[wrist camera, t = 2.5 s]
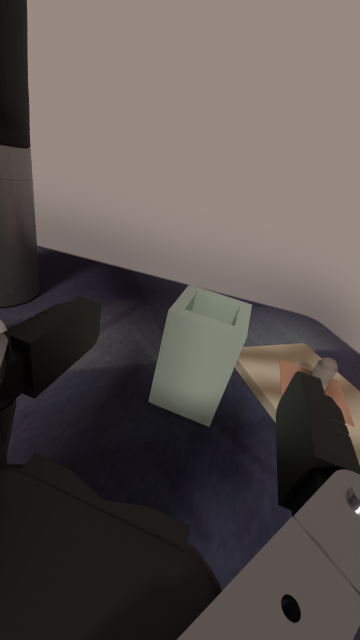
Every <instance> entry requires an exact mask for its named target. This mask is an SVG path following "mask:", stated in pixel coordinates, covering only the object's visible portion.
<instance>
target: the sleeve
mask: <svg viewBox="0 0 360 640" xmlns="http://www.w3.org/2000/svg"><path fill="white" fill-rule="evenodd" d="M251 307H252V305H251V304H248V303H245V302H242V301H239V300H236V299H233V298H229V297H226V296H223V295H220V294H217V293H214V292H211V291H208V290H205V289H202V288H199V287H196V286H193V285H189V286H188V287H187V288H186V289H185V291H184V292H183V293H182V294H181V296H180V297H179V298H178V299H177V300H176V302H175V303H174V304H173V305H172V307H171V308H170V309H169V310H168V315H167V319H166V324H165V328H164V333H163V337H162V342H161V347H160V351H159V356H158V360H157V365H156V369H155V374H154V378H153V383H152V387H151V392H150V396H149V401H148V402H149V403H152V404H154V405H157V406H159V407H161V408H164V409H166V410H169V411H171V412H174V413H176V414H179V415H181V416H183V417H186V418H188V419H191V420H193V421H196V422H198V423H201V424H203V425H206V426H208V427H209V426H210V424H211V422H212V419H213V417H214V414H215V412H216V410H217V407H218V405H219V403H220V400H221V398H222V395H223V393H224V391H225V388H226V386H227V383H228V381H229V379H230V376H231V374H232V372H233V369H234V367H235V364H236V362H237V360H238V357H239V355H240V352H241V350H242V348H243V345H244V343H245V341H246V338H247V333H248V326H249V320H250V313H251Z"/></svg>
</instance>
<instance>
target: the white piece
mask: <svg viewBox="0 0 360 640" xmlns="http://www.w3.org/2000/svg"><path fill="white" fill-rule="evenodd" d="M6 330H7V328H6V326H5V325H4V323H3V322H2V321H1V320H0V333H3V332H5V331H6Z"/></svg>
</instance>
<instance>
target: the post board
mask: <svg viewBox="0 0 360 640" xmlns="http://www.w3.org/2000/svg"><path fill="white" fill-rule="evenodd" d="M337 368H338V366H337V363H336V361H335V360H333V359H331V358H323V359H322V358H320V357H319V356H318V355H317V354H316V353H315V352H313V351H312V350H311V349H310V348H309V347H308V346H307V345H305V344H304V343H301V344H286V345H270V346H255V347H243V348H242V350H241V352H240V355H239V357H238V360H237V362H236V364H235V369H236V370H237V371H238V373H239V374H240V375H241V377H242V378H243V379H244V381H245V382H246V384H247V385H248V386H249V388H250V389H251V390H252V392H253V393H254V394H255V396H256V397H257V398H258V400H259V401H260V402H261V404H262V405H263V407H264V408H265V409H266V411H267V412H268V413H269V415H270V416H271V417H272V419H273V420H274V421H275V423H276V410H277V406H278V403H279V401H280V399H281V397H282V395H283V394H284V392H285V390H286V388H287V387H288V385H289V383H290V381H291V379H292V378H293V376H294V374H295V373H296V372H297V371H301V372H303V373H306V374H309V375H312V376H315V377H318V378H320V379H321V381H322V385H323V389H324V392H325V395H327V396H330V397H332V398H333V400H334V401H335V402H336V404H337V405H338V406H339V408H340V409H341V410H342V413H343V416H344V419H345V422H346V423H345V425H347V428H348V431H349V436H350V438H351V441H352V444H353V447H354V450H355V453H356V456H357V459H358V462H359V465H360V391H358V390H357V389H356V388H355V387H354V386H353V385H351V384H350V383H349V382H348V381H347V380H346V379H345V378H343V377H342V376H341V375H340V374H339V373H338V370H337Z"/></svg>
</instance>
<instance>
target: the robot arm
mask: <svg viewBox="0 0 360 640" xmlns="http://www.w3.org/2000/svg"><path fill="white" fill-rule="evenodd" d="M29 130H30V125H29V93H28V61H27V0H0V307H6V306H13V305H18V304H22V303H25V302H27V301H30V300H31V299H33V298H35V297H36V296H37V295H38V293H39V274H38V256H37V240H36V225H35V210H34V194H33V179H32V165H31V149H30V148H29V147H30V131H29ZM100 316H101V303H100V302H99V301H97V300H94V299H91V298H88V297H86V296H79V297H77V298H75V299H74V300H72V301H70V302H68V303H67V302H66V303H62V304H57V305H53V306H51V307H49V308H48V309H46V310H44V311H43V312H40V313H38V314H36V315H34V317H31V318H29V319H27V320H25V321H23V322H21V323H20V324H18V325H16V326H14V327H12V328H10V329H8V330H6V331H5V332H3V333H0V640H353V638H354V636H355V634H356V632H357V629H358V627H359V625H360V465H359V462H358V459H357V456H356V453H355V450H354V447H353V444H352V441H351V438H350V436H349V431H348V428H347V425H345V423H346V422H345V419H344V416H343V413H342V410H341V409H340V408H339V406H338V405H337V404H336V402H335V401H334V400H333V398H332V397H330V396H327V395H325V392H324V389H323V385H322V381H321V379H320V378H318V377H315V376H312V375H309V374H306V373H303V372H301V371H297V372H296V373H295V374H294V376H293V378H292V379H291V381H290V383H289V385H288V387H287V388H286V390H285V392H284V394H283V395H282V397H281V399H280V401H279V403H278V406H277V410H276V445H277V477H278V505H280V506H282V507H284V508H287V509H289V510H291V511H292V517H291V518H290V519H289V520H288V521H287V523H286V524H285V525H284V526H283V527H282V528H281V529H280V530H279V531H278V532H277V533H276V534H275V535H274V536H273V538H272V539H271V540H270V541H269V542H268V543H267V544H266V545H265V546H264V547H263V548H262V549H261V550H260V551H259V552H258V554H257V555H256V556H255V557H254V558H253V559H252V560H251V561H250V562H249V563H248V564H247V565H246V566H245V567H244V568H243V570H242V571H241V572H240V573H239V574H238V575H237V576H236V577H235V578H234V579H233V580H232V581H231V582H230V583H229V585H228V586H227V587H226V588H225V589H224V590H223V591H222V589H221V587H220V584H219V582H218V580H217V578H216V577H215V575H214V573H213V571H212V570H211V568H210V566H209V565H208V564H207V562H206V561H205V559H204V558H203V557H202V555H201V554H200V553H199V552H198V551H197V550H196V549H195V547H194V546H192V545H191V544H190V543H189V542H188V541H187V538H188V534H189V530H190V525H188V524H185V523H183V522H181V521H179V520H177V519H175V518H173V517H170V516H168V515H166V514H164V513H162V512H160V511H158V510H156V509H153V508H151V507H149V506H142V505H136V504H129V503H122V502H116V501H109V500H104V499H102V498H101V497H99V496H98V495H97V494H96V493H95V492H94V491H93V490H92V489H91V488H90V487H89V486H87V485H86V484H85V483H84V482H83V481H82V480H81V479H80V478H79V477H78V476H77V475H76V474H75V473H74V472H73V471H71V470H70V469H68V468H66V467H64V466H62V465H60V464H57V463H55V462H53V461H51V460H49V459H47V458H45V457H43V456H40V455H38V454H36V453H35V454H34V455H33V456H32V457H31V459H30V460H29V461H28V462H27V463H26V464H25V465H22V464H8V465H7V451H8V445H9V440H10V435H11V430H12V424H13V419H14V414H15V409H16V398H17V397H18V396H19V395H21V394H22V393H23V394H25V395H28V396H30V397H32V398H36V397H37V396H38V395H39V394H40V393H41V392H43V391H44V390H45V389H46V388H47V387H48V386H49V385H50V384H52V383H53V382H54V381H55V380H56V379H57V378H58V377H59V376H61V375H62V374H63V373H64V372H65V371H66V370H67V369H68V368H70V367H71V366H72V365H73V364H74V363H75V362H76V361H77V360H79V359H80V358H81V357H82V356H83V355H84V354H85V353H86V352H88V351H89V350H90V349H91V348H92V347H93V346H94V345H95V343H96V342H97V339H98V337H99V330H100Z"/></svg>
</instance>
